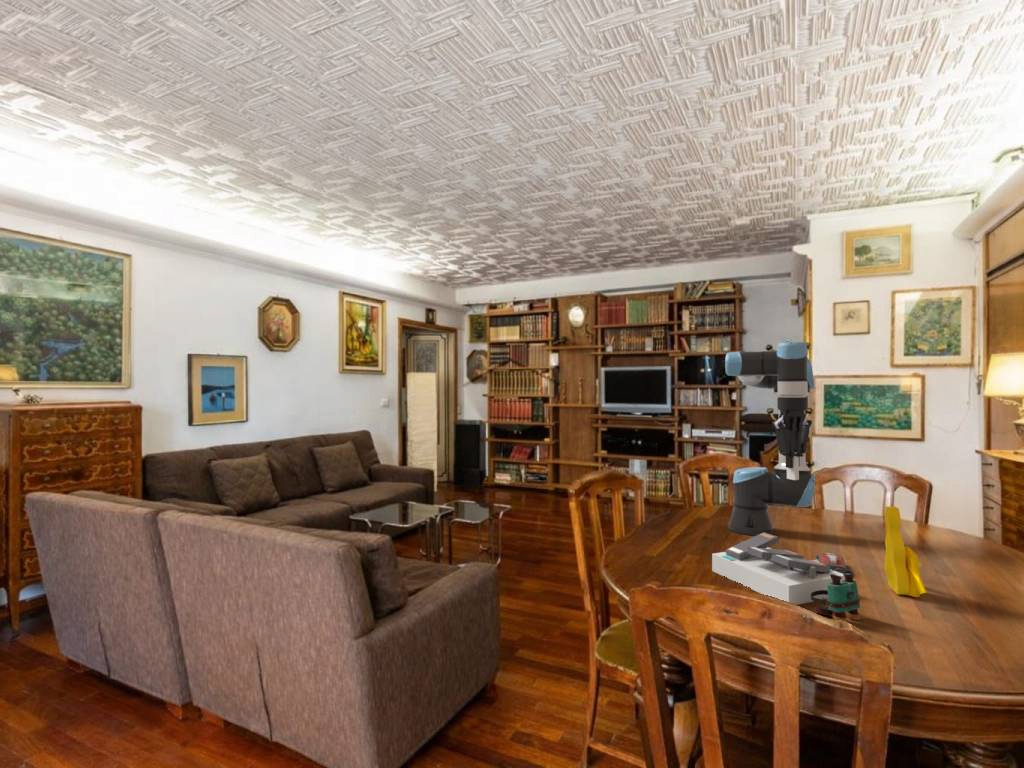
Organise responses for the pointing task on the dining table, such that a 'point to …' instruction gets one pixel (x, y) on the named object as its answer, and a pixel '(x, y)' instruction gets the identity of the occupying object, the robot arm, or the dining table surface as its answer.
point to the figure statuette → (900, 559)
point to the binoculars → (840, 598)
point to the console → (774, 577)
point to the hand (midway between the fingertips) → (792, 479)
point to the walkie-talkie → (832, 561)
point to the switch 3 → (800, 563)
